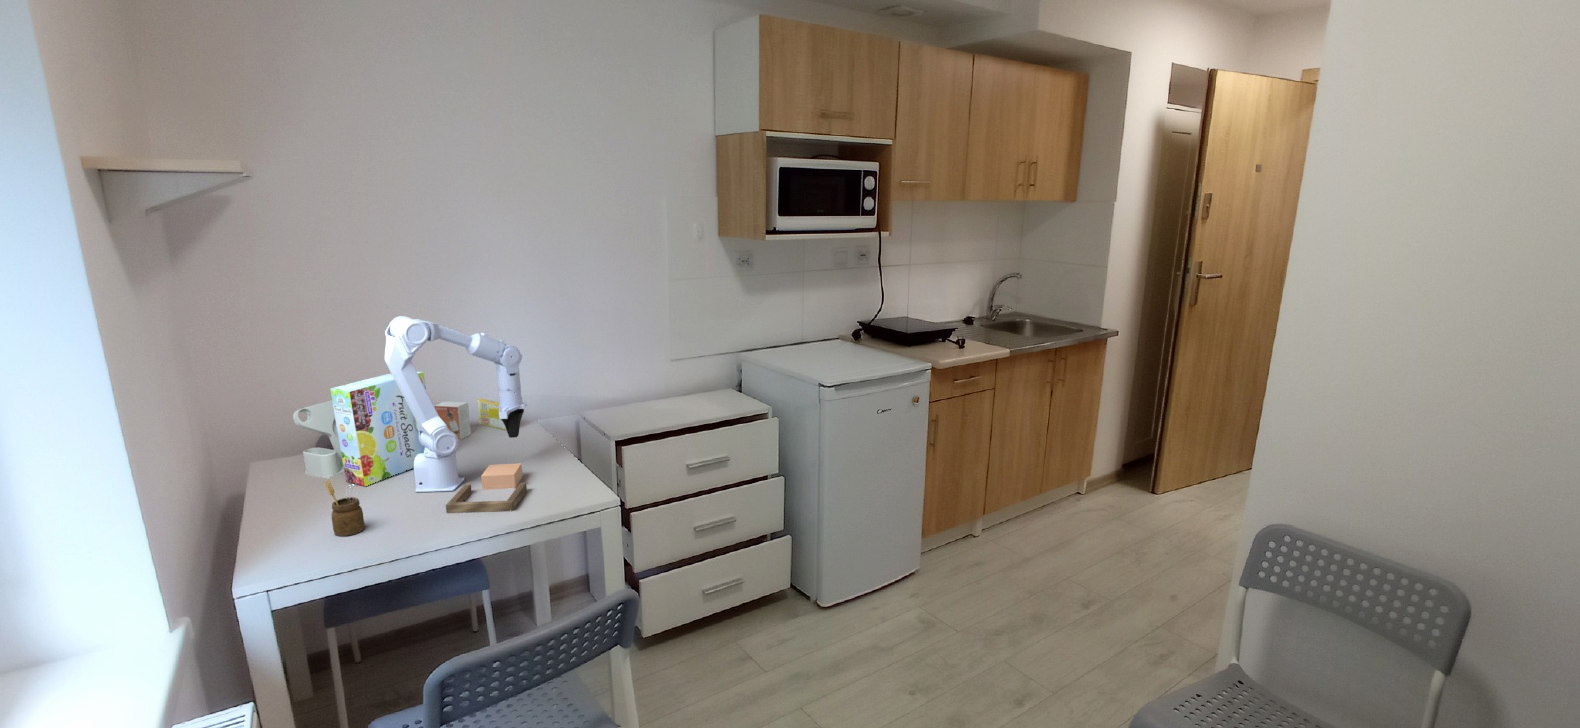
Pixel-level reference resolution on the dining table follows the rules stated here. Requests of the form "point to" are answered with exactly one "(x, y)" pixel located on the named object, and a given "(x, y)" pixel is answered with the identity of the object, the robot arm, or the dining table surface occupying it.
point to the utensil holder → (346, 514)
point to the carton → (501, 476)
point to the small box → (455, 417)
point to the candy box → (489, 414)
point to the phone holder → (324, 422)
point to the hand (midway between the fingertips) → (513, 436)
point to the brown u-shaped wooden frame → (484, 506)
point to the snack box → (375, 429)
